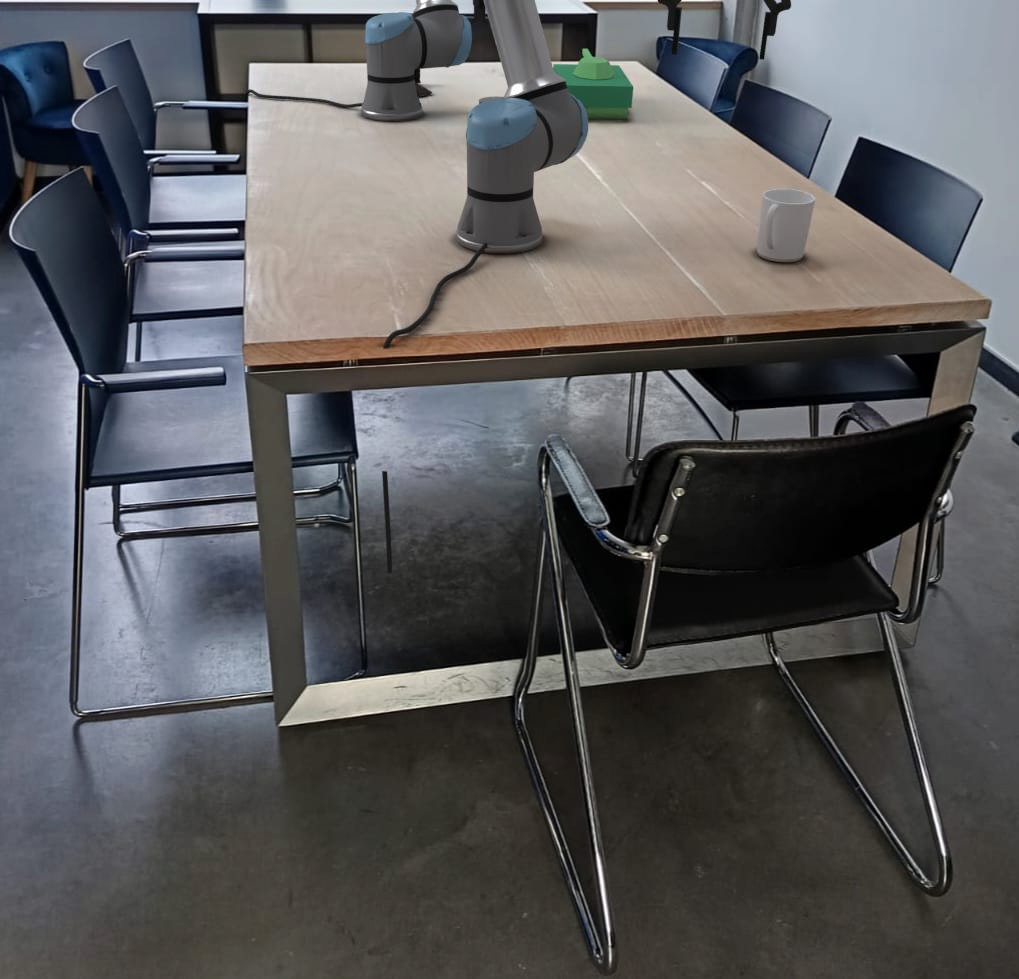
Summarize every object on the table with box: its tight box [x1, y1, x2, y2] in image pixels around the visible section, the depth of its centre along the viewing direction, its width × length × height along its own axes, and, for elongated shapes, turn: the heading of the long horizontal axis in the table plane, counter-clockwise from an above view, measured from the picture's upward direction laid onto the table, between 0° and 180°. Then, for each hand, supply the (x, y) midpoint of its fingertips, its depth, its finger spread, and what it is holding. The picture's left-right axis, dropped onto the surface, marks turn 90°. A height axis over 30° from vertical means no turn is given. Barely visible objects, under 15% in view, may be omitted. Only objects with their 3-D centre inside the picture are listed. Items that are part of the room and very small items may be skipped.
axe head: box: [414, 69, 433, 97], centre depth 299 cm, size 18×8×15 cm
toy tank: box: [552, 48, 634, 120], centre depth 286 cm, size 18×12×35 cm
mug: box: [756, 188, 816, 263], centre depth 188 cm, size 11×9×10 cm
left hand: (499, 18), depth 244 cm, fingers open, 13 cm apart
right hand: (717, 55), depth 172 cm, fingers open, 13 cm apart
